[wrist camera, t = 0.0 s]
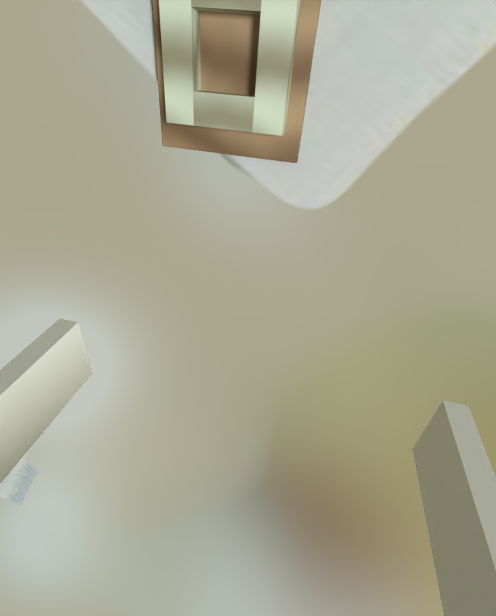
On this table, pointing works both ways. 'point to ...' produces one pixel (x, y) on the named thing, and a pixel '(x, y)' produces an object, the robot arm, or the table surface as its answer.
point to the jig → (235, 74)
